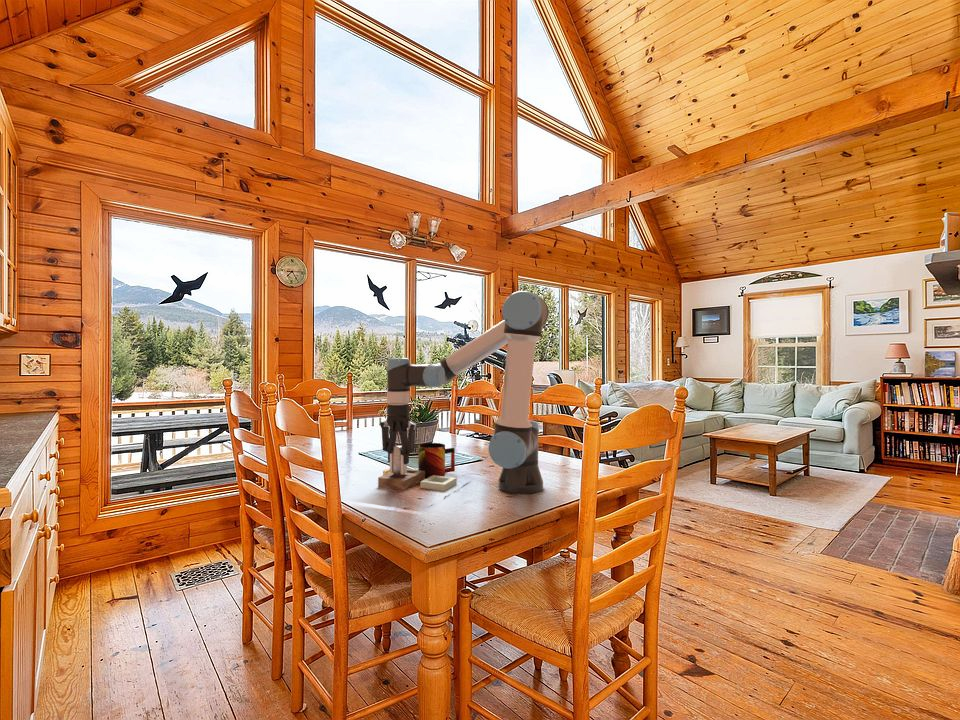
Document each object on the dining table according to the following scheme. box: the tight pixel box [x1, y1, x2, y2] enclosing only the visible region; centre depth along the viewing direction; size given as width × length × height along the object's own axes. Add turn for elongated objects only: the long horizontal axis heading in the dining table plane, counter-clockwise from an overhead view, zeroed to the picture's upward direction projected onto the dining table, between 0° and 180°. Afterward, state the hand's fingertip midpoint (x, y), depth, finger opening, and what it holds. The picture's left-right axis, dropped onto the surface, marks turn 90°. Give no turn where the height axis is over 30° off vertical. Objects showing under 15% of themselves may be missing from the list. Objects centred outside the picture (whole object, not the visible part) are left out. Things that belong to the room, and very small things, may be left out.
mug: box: [417, 442, 456, 479], centre depth 178 cm, size 10×14×12 cm
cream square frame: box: [419, 475, 458, 492], centre depth 163 cm, size 9×9×3 cm
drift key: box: [382, 468, 390, 476], centre depth 172 cm, size 10×3×4 cm, turn 67°
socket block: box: [377, 468, 425, 491], centre depth 166 cm, size 10×14×4 cm
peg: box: [393, 444, 404, 478], centre depth 164 cm, size 4×4×13 cm
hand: (398, 472), depth 164 cm, fingers closed on peg, 3 cm apart
